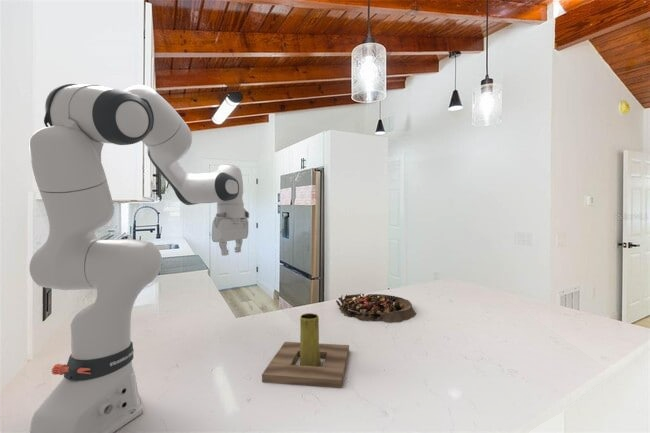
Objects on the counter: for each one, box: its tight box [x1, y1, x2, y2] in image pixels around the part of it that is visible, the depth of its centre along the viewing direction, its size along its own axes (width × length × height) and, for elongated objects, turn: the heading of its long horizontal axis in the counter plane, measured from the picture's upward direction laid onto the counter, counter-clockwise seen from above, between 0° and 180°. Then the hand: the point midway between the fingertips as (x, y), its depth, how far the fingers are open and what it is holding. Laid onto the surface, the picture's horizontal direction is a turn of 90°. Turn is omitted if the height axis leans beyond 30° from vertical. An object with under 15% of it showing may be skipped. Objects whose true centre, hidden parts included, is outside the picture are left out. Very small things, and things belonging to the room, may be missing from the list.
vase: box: [299, 312, 322, 367], centre depth 93 cm, size 6×6×14 cm
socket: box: [261, 341, 350, 389], centre depth 93 cm, size 21×21×2 cm
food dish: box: [335, 293, 417, 324], centre depth 142 cm, size 35×33×8 cm
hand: (231, 253), depth 110 cm, fingers open, 8 cm apart
